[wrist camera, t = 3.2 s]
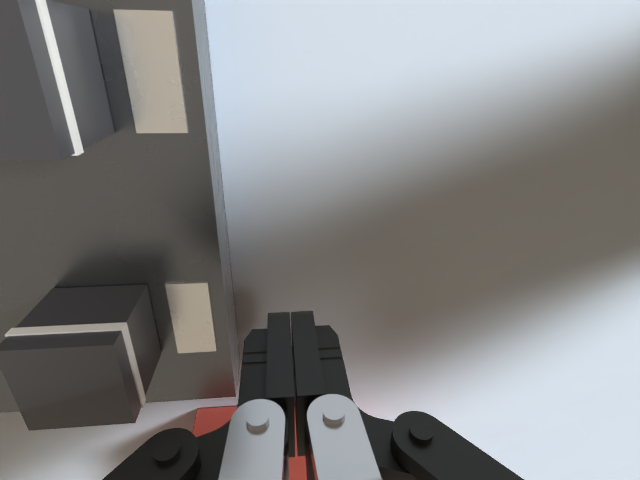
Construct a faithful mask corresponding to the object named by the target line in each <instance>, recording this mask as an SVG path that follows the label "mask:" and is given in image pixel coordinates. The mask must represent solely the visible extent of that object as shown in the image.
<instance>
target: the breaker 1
mask: <svg viewBox="0 0 640 480" xmlns="http://www.w3.org/2000/svg"><path fill="white" fill-rule="evenodd" d="M114 133H115V131H114V127H113V122H112V117H111V112H110V108H109V103H108V98H107V94H106V89H105V84H104V79H103V75H102V70H101V65H100V61H99V56H98V51H97V46H96V42H95V37H94V32H93V28H92V23H91V18H90V13H89V9H86V8H82V7H77V6H73V5H68V4H63V3H59V2H54V1H50V0H0V161H22V160H63V159H65V158H67V157H69V156H78V155H80V154H82V153H84V151H83V149H85V148H87V147H89V146H90V145H92V144H94V143H96V142H98V141H100V140H102V139H104V138H106V137H108V136H110V135H112V134H114Z"/></svg>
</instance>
